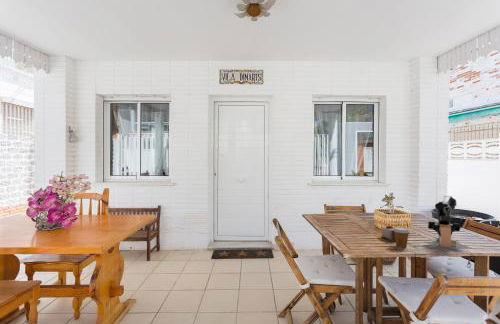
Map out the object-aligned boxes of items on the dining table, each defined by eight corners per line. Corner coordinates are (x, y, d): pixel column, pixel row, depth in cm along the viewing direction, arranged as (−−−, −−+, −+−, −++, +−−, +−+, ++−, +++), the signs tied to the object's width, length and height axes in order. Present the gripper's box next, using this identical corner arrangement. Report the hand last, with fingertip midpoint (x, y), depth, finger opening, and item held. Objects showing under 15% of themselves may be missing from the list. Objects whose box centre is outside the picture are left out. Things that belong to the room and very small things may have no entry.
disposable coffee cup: (412, 247, 198) (412, 229, 198) (401, 248, 195) (401, 230, 195) (401, 243, 207) (401, 226, 207) (390, 244, 204) (390, 227, 204)
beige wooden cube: (449, 245, 202) (449, 238, 202) (455, 245, 201) (455, 239, 201) (450, 246, 200) (450, 240, 200) (456, 247, 198) (456, 240, 198)
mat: (440, 249, 192) (440, 249, 192) (423, 242, 209) (423, 241, 209) (472, 249, 194) (472, 248, 194) (452, 242, 211) (452, 241, 211)
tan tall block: (439, 244, 203) (439, 224, 203) (448, 245, 201) (449, 224, 200) (440, 246, 198) (441, 226, 197) (450, 247, 196) (451, 227, 195)
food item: (379, 236, 225) (379, 224, 225) (388, 236, 227) (388, 223, 227) (391, 241, 212) (391, 228, 212) (400, 241, 213) (401, 227, 213)
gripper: (428, 210, 207) (430, 228, 197) (460, 212, 199) (464, 231, 189) (426, 219, 214) (428, 237, 204) (457, 221, 206) (461, 240, 196)
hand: (445, 236), depth 198 cm, fingers closed on tan tall block, 6 cm apart
